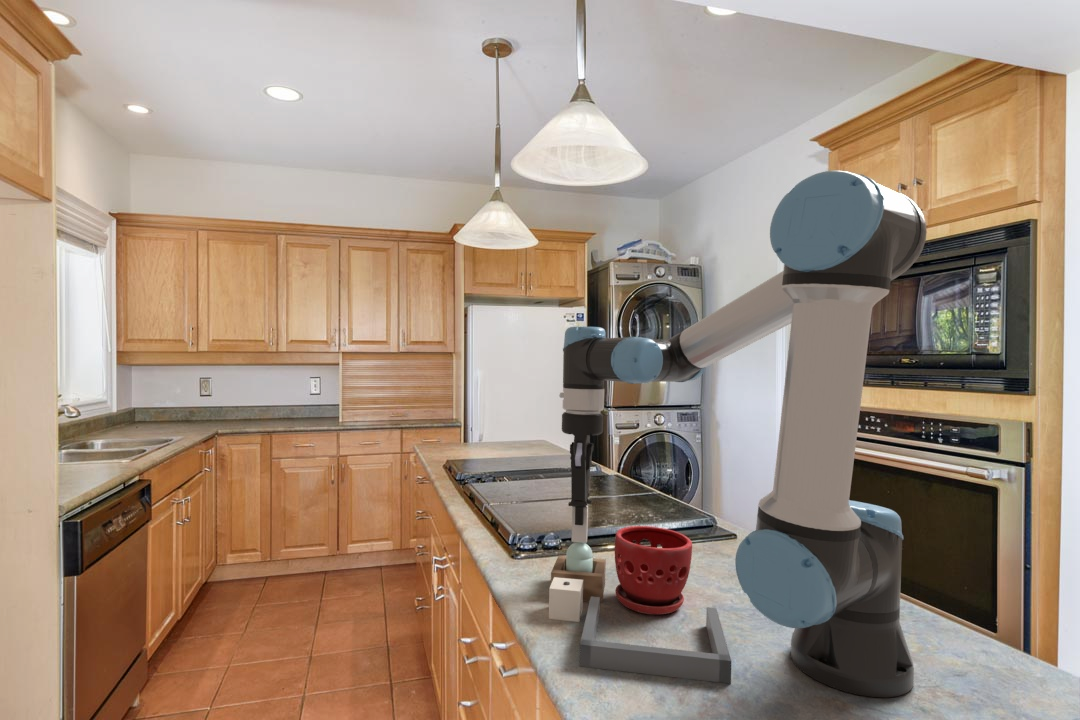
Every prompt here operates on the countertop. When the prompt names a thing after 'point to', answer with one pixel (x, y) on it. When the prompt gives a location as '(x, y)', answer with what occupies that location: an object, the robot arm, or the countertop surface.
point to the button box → (584, 577)
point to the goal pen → (657, 653)
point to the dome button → (579, 558)
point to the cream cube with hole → (566, 599)
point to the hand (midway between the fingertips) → (579, 540)
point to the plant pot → (652, 568)
